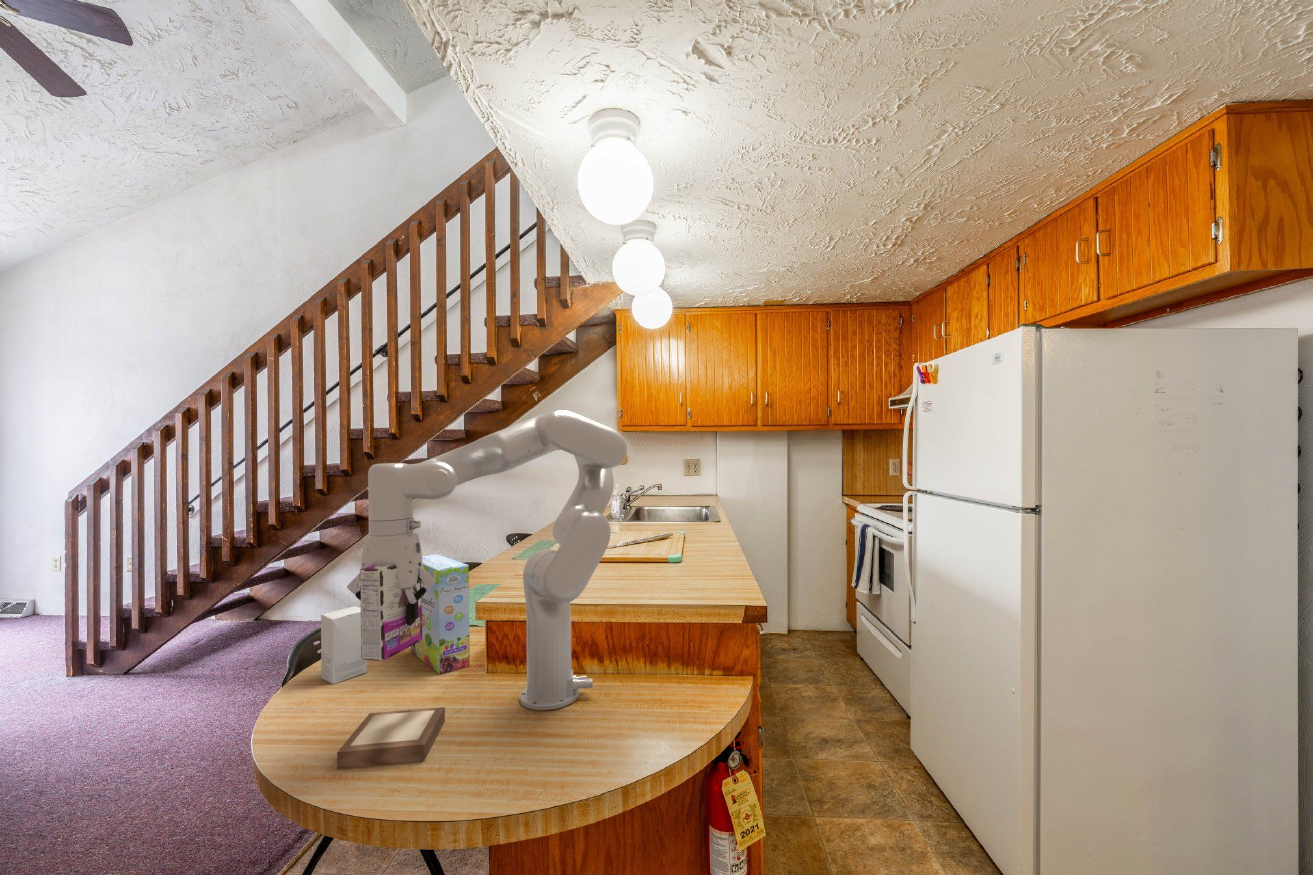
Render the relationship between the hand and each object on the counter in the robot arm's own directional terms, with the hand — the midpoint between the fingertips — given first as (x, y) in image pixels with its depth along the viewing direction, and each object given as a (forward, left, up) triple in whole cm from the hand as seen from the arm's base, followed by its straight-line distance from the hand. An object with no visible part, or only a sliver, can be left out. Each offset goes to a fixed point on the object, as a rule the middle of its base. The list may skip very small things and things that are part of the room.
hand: (392, 623), depth 100 cm
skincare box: (+22, -33, -21) cm, 45 cm away
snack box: (+2, -40, -21) cm, 46 cm away
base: (-1, +2, -21) cm, 21 cm away
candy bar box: (0, 0, -5) cm, 5 cm away
